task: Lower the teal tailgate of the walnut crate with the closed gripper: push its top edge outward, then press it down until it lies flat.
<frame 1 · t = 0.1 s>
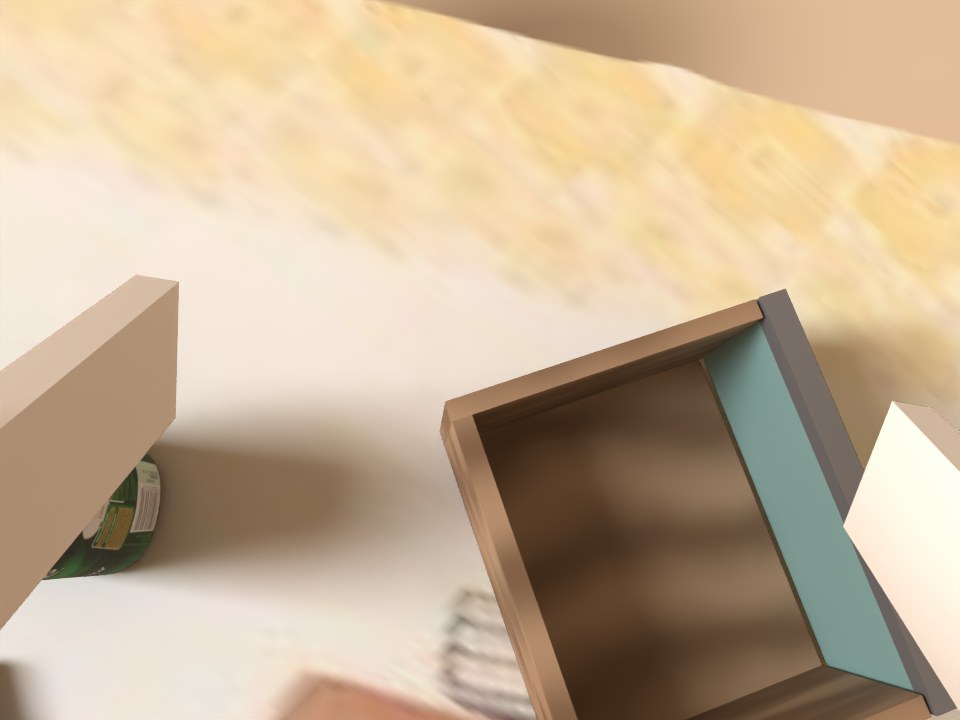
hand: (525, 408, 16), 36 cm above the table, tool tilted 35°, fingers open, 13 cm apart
crate: (638, 549, 51), on the table
coffee jar: (81, 506, 49), on the table
tailgate: (810, 497, 46), point 6 cm above the table, hinge at 0.0°
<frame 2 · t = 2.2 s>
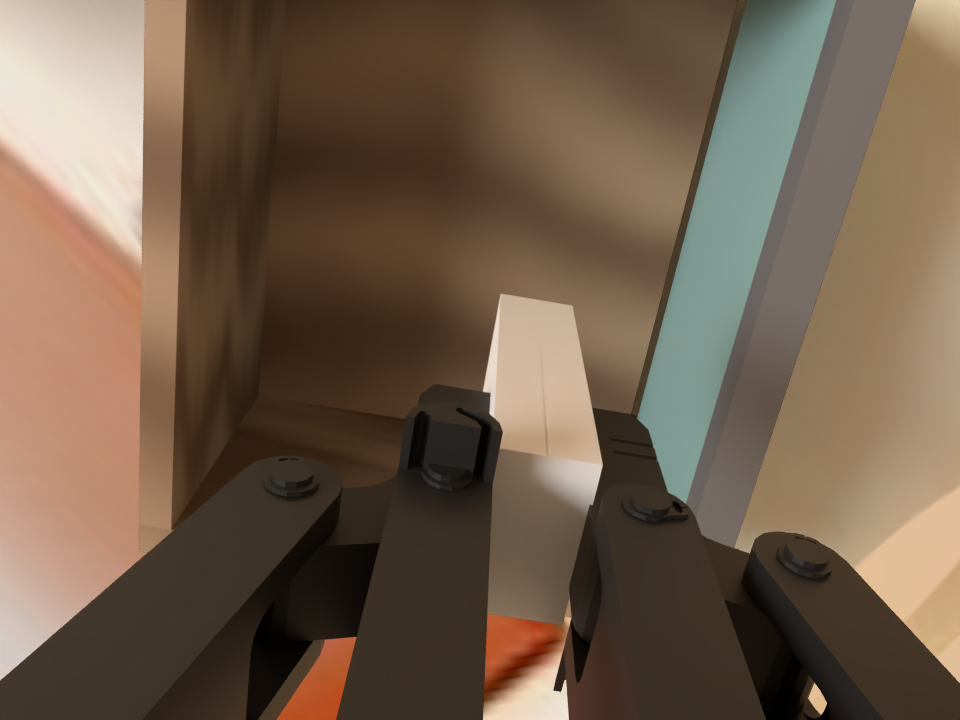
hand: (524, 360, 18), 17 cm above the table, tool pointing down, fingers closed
crate: (484, 199, 33), on the table
tailgate: (732, 280, 28), point 6 cm above the table, hinge at 0.0°
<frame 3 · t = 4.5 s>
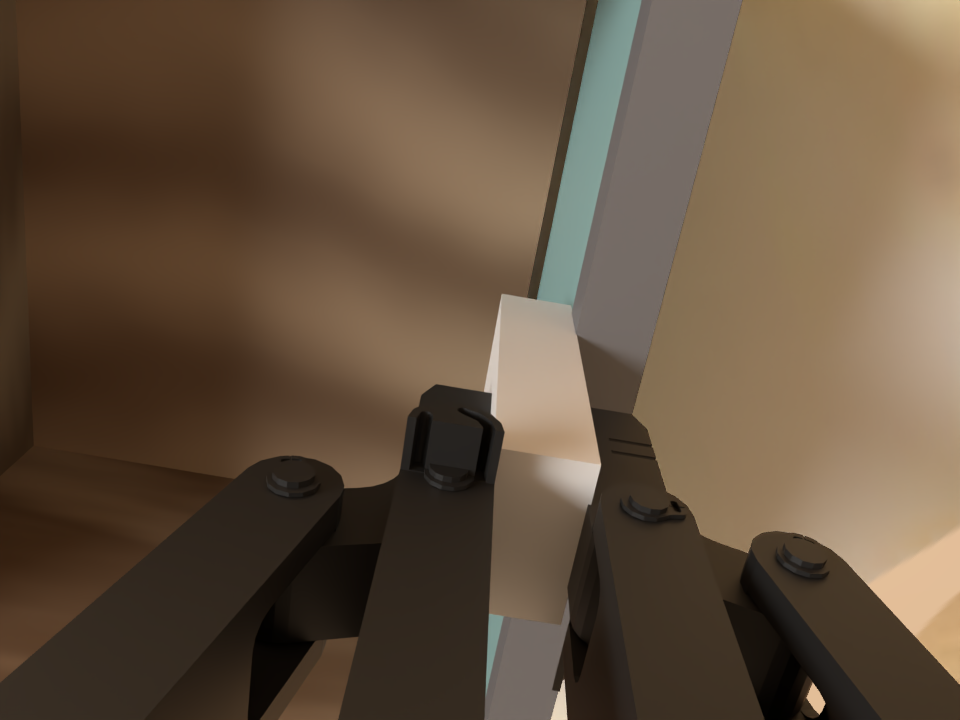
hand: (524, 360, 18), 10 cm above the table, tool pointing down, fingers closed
crate: (297, 207, 26), on the table
tailgate: (576, 320, 21), point 6 cm above the table, hinge at 0.4°, touching gripper
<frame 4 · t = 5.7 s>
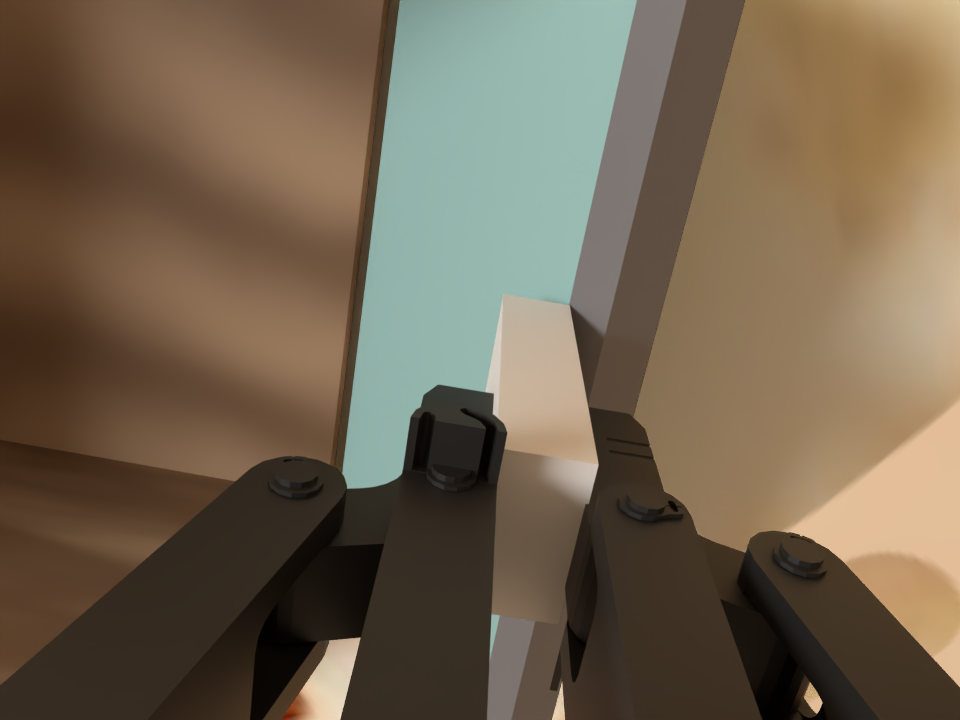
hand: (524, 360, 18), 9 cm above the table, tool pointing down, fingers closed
crate: (122, 176, 26), on the table
tailgate: (482, 298, 21), point 5 cm above the table, hinge at 36.2°, touching gripper
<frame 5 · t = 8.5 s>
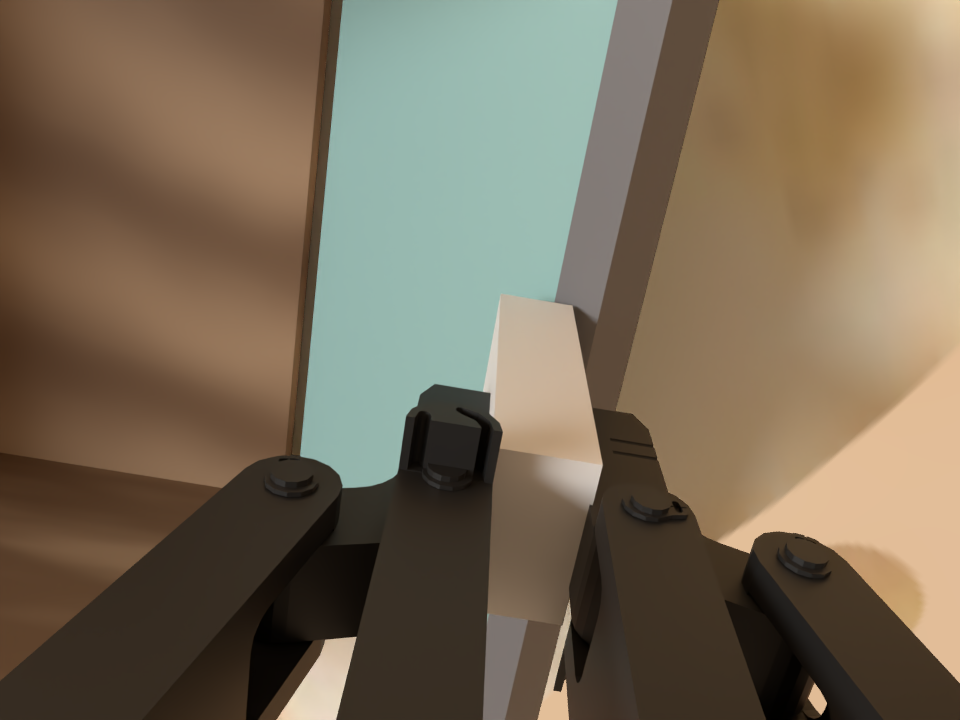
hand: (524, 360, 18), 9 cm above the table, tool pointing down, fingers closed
crate: (65, 173, 26), on the table
tailgate: (451, 292, 21), point 5 cm above the table, hinge at 44.2°, touching gripper
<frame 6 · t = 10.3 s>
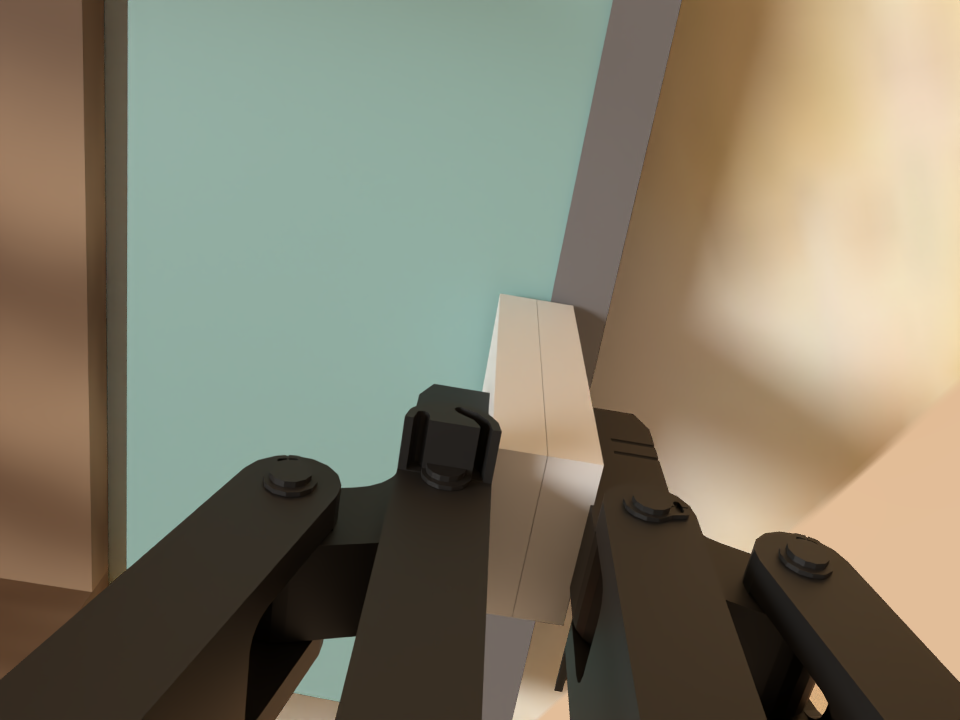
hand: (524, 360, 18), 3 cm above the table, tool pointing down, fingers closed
tailgate: (365, 317, 19), point 2 cm above the table, hinge at 86.9°, touching gripper
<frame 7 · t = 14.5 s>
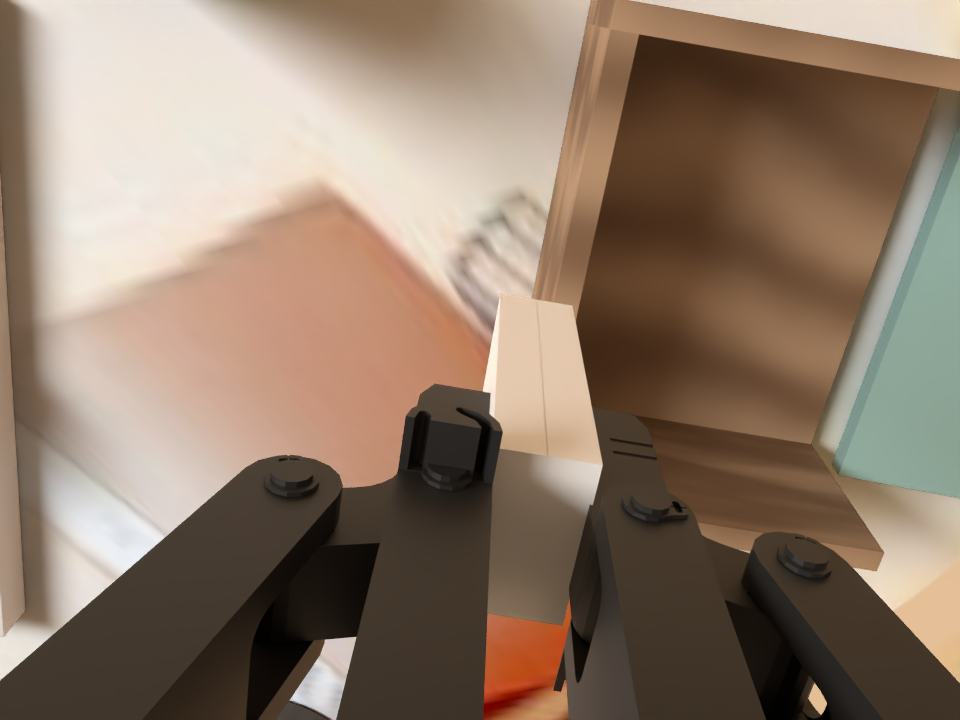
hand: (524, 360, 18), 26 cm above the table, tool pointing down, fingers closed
crate: (719, 250, 44), on the table
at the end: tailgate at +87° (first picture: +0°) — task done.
